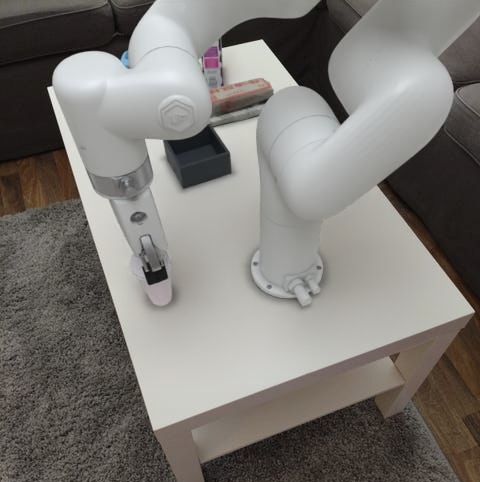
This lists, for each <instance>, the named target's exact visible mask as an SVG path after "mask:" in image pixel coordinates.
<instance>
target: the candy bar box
mask: <svg viewBox="0 0 480 482" xmlns="http://www.w3.org/2000/svg"><path fill="white" fill-rule="evenodd" d="M200 59H201V68H202V71H203V74H204V77H205V79H206V82H207V85H208V88H209V89H213V88H218V87H222V86H224V67H223V65H224V64H223V46H222V36H221V37H220V38H219V39H218V40H217V41H216V42H215V43H214V44H213V45H212V46H211V47H210V48H209V49H208V50H207V51H206V53H205V54H204V55H203V56H202V57H201V58H200Z"/></svg>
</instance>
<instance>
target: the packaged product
mask: <svg viewBox="0 0 480 482" xmlns="http://www.w3.org/2000/svg"><path fill="white" fill-rule="evenodd" d="M209 91H210V94H211V100H212V113H211V117H210V119H209V122H208V123H207V124H211V125H212V127H213V128H214V127H217V126H220V125H224V124H228V123H233V122H238V121H243V120H247V119H251V118H254V117H256V116H259V115H260V112H261V110H262V108H263V106H264V105H265V103H266V102H267V101H268V99H269V98H270V97H271V96H272V95H274V94H275V93H274V92H275V89H274V87H273V86H272V85H271V82H270V81H268V80H266V79H265V78H262V77H258V78H252V79H248V80H244V81H241V82H240V81H239V82H236V83H230V84H228V85H227V84H226V85H223V86H222V87H218V88H213V89H209Z"/></svg>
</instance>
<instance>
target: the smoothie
mask: <svg viewBox="0 0 480 482" xmlns="http://www.w3.org/2000/svg"><path fill="white" fill-rule="evenodd" d="M142 249H143V248H142ZM159 252H160V255H161V258H162V259H163V261H164V264H165V267H166V271H167V274H168V279H166V280H164V281H162V282H159V283H156V284H153V285H148V283H147V281H146V278H145V275H144V272H143V269H142V266H143V264H142V261H141V259H140V258H137V257H135V255H134V253H132V255H131V257H130V259H129V268H130V272H131V274H132V275H133V277H134V278H136V279H137V280H138V282H139V283H140V285H141V287H142V288H143V290H144V291H145V293H146V295H147V296H148V298H149V299H150V301H151V303H152V304H154V305H155V306H157V307H164V306H166V305H168V304H169V303H170V302H171V301H172V299H173V286H172V275H171V268H172V258H171V256H170V253H169V252H168V251H167V249H165V250H162V251H161V250H160V249H159ZM144 258H145V261H146V262H149V261H148V258H147V256H146V255H144Z"/></svg>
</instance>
